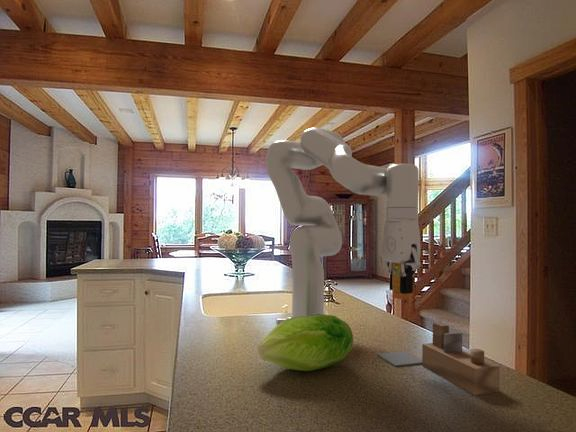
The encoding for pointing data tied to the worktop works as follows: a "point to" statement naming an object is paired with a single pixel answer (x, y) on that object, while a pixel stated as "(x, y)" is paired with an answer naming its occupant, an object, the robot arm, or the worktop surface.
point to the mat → (400, 358)
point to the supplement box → (398, 281)
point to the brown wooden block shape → (459, 362)
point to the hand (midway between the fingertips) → (400, 290)
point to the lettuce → (307, 342)
